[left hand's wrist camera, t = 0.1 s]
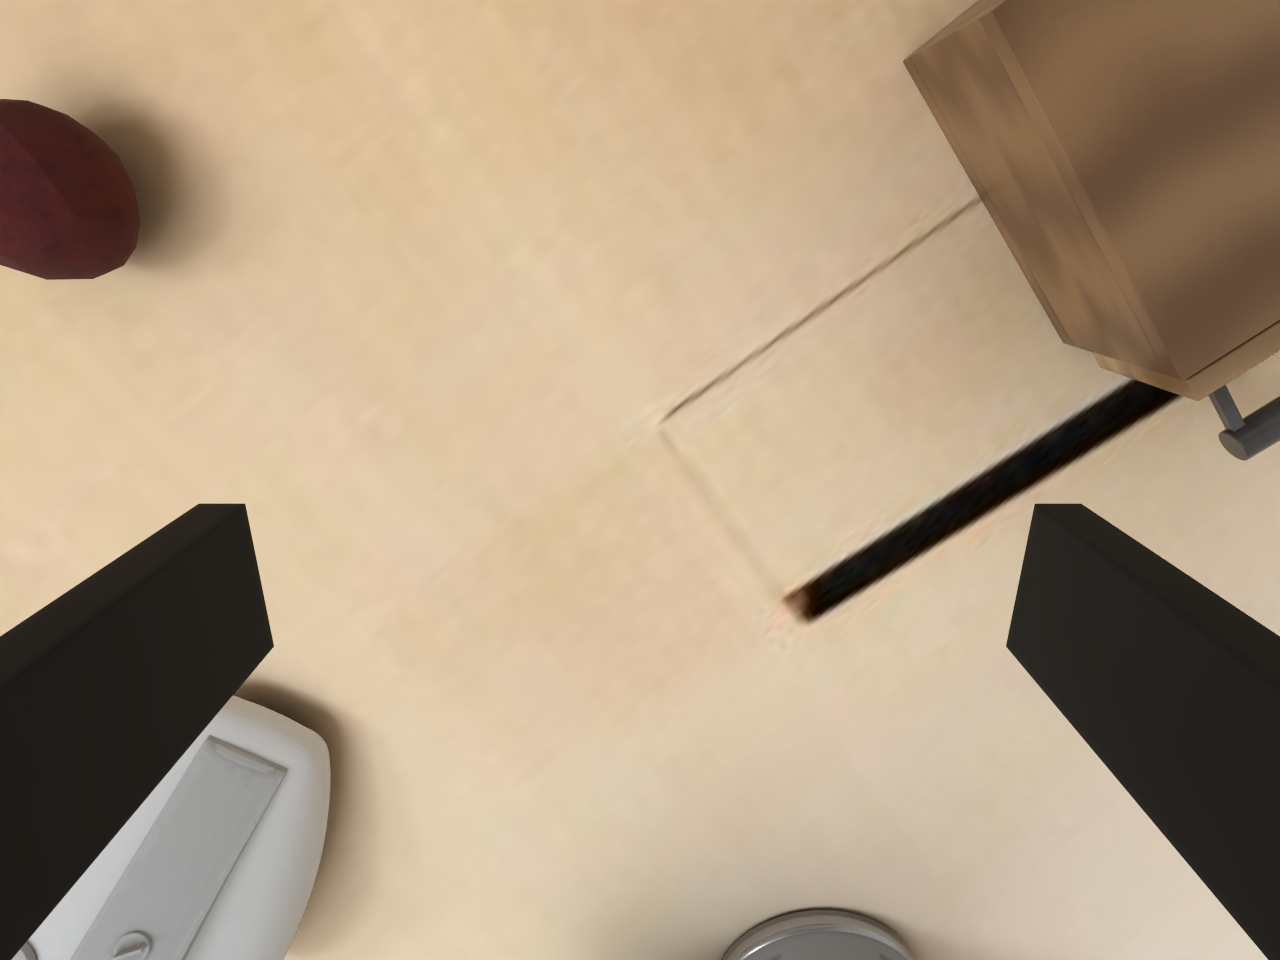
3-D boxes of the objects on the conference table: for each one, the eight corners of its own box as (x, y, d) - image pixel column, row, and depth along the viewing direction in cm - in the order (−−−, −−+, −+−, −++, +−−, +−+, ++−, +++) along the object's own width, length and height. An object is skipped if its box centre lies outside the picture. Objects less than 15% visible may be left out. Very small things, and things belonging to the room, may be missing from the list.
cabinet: (1261, 210, 37) (1452, 210, 28) (1063, 343, 39) (1183, 381, 30) (1117, -112, 32) (1293, -229, 23) (902, 61, 34) (989, 12, 26)
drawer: (1323, 346, 38) (1470, 376, 31) (1148, 454, 40) (1251, 504, 33) (1150, -41, 32) (1285, -107, 25) (955, 109, 34) (1033, 85, 27)
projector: (434, 910, 53) (362, 1156, 39) (154, 977, 55) (-6, 1230, 42) (295, 662, 46) (147, 856, 32) (-21, 750, 48) (-285, 967, 34)
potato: (86, 77, 34) (-45, 46, 28) (206, 223, 37) (111, 226, 30) (-17, 171, 36) (-165, 163, 29) (104, 306, 38) (-8, 326, 32)
